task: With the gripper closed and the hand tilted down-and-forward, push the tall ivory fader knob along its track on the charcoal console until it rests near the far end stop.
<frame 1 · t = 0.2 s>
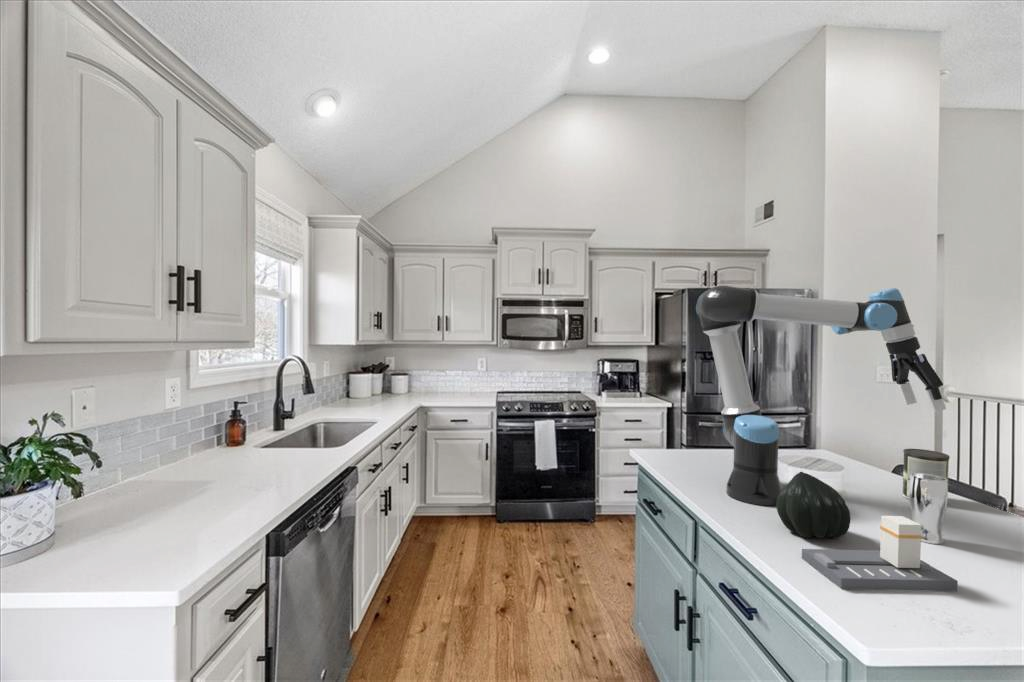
hand: (925, 406, 138), 28 cm above the worktop, tool tilted 20°, fingers open, 13 cm apart
fader knob: (900, 541, 93), point 7 cm above the worktop, slide at 0.0 cm
squash: (810, 533, 113), on the worktop
console: (874, 573, 94), on the worktop
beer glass: (926, 539, 111), on the worktop
coffee can: (924, 500, 138), on the worktop
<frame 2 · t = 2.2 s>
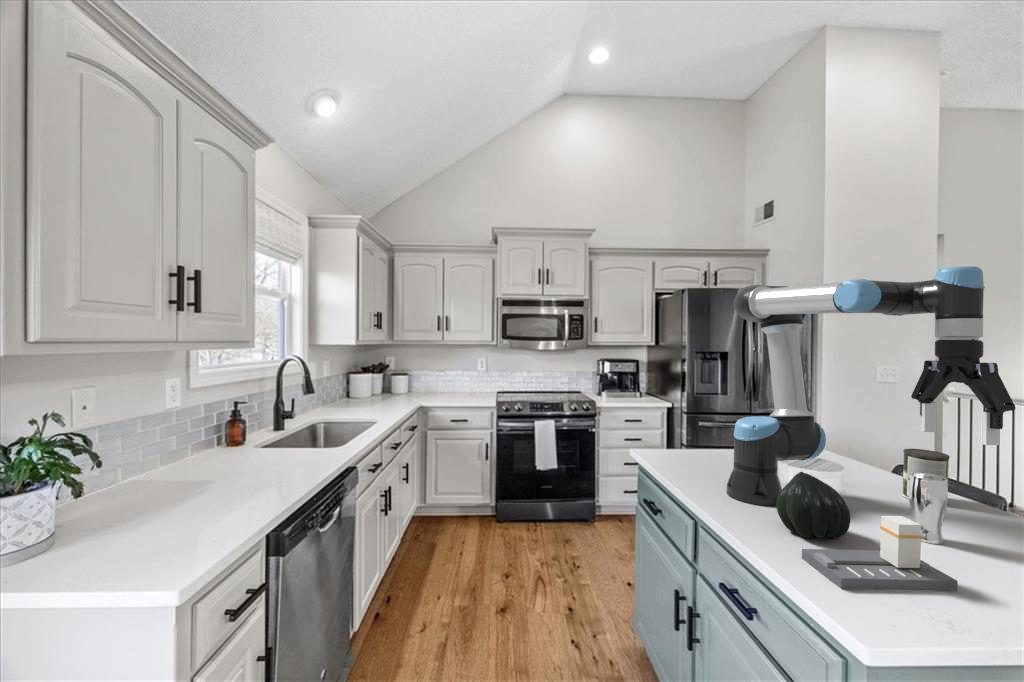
hand: (957, 438, 99), 27 cm above the worktop, tool pointing down, fingers open, 13 cm apart
nothing on the worktop moved.
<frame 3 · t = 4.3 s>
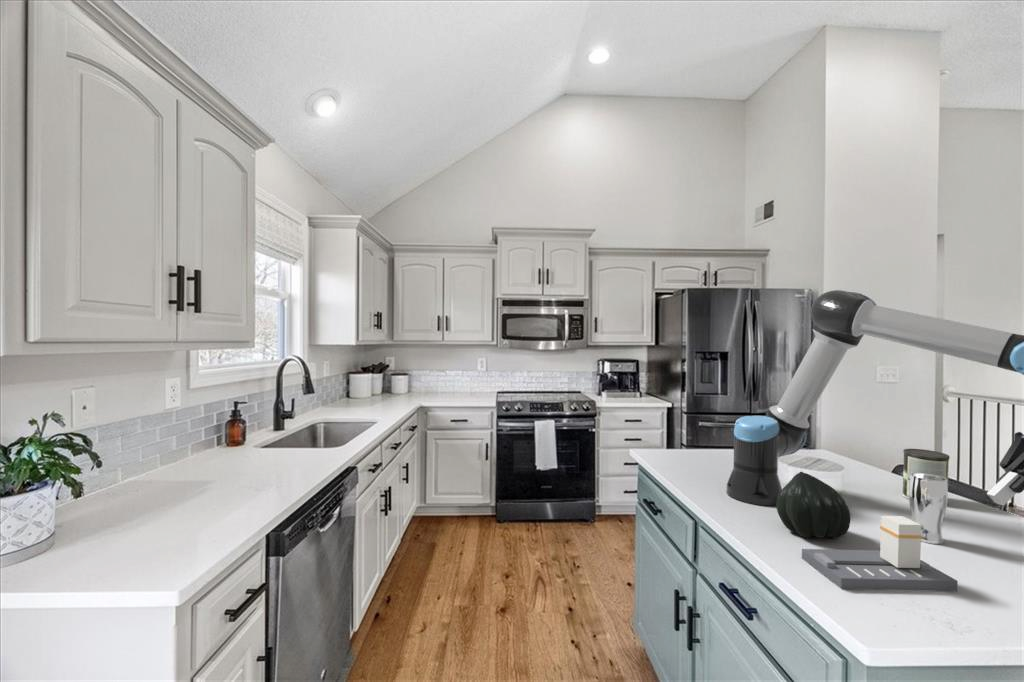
hand: (994, 499, 93), 16 cm above the worktop, tool tilted 45°, fingers closed
nothing on the worktop moved.
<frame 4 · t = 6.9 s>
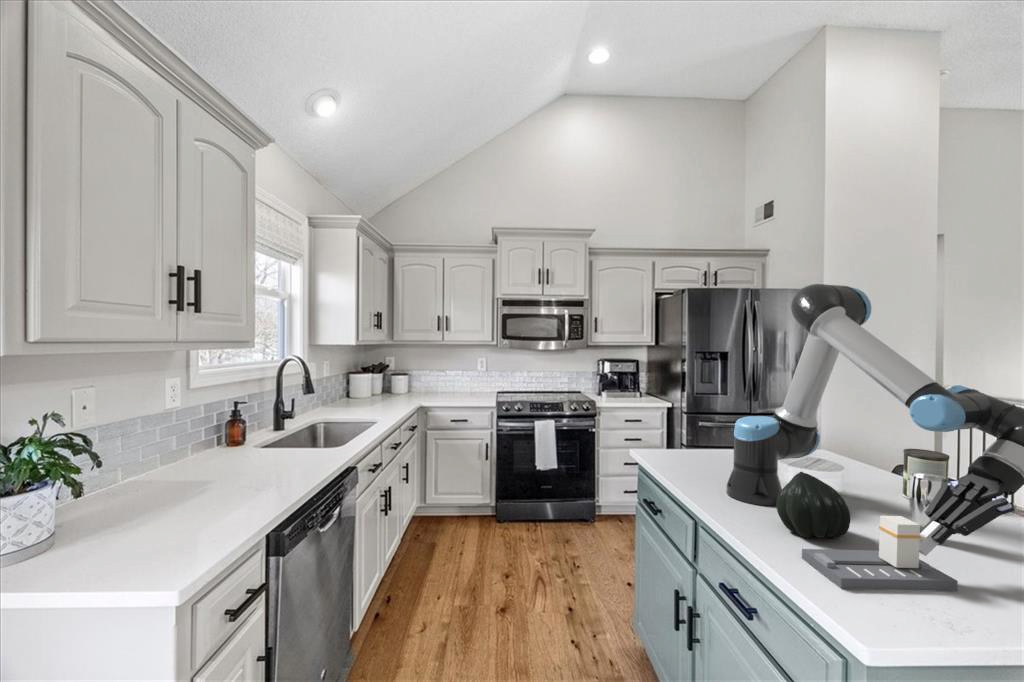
hand: (917, 549, 93), 5 cm above the worktop, tool tilted 45°, fingers closed
fader knob: (898, 541, 93), point 7 cm above the worktop, slide at 0.3 cm, touching gripper
everything else where it was.
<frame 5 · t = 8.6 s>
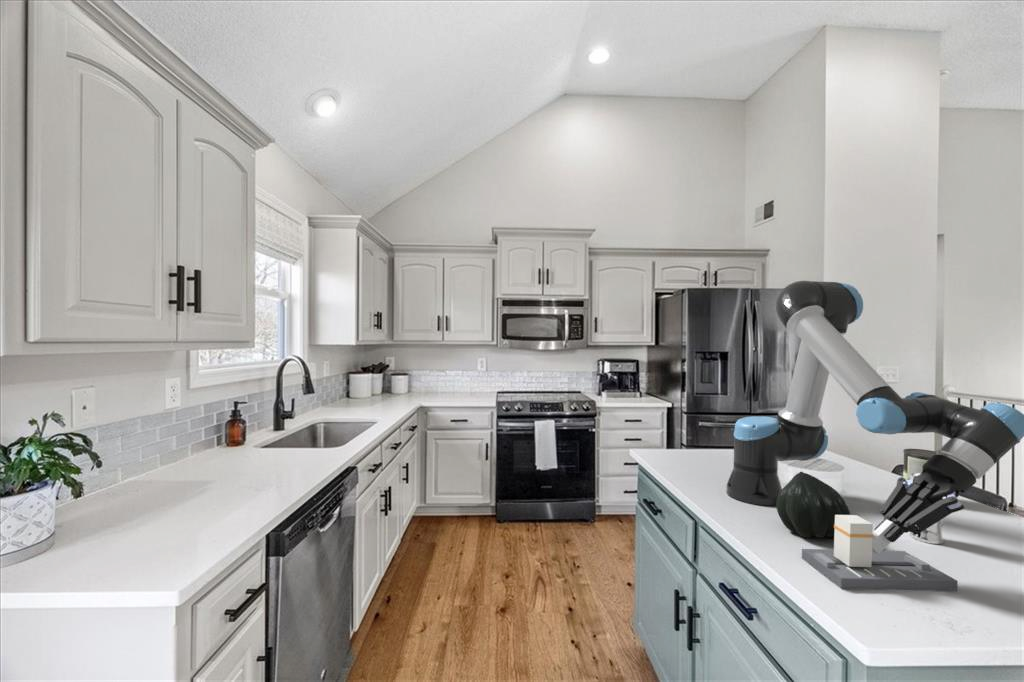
hand: (871, 547, 93), 5 cm above the worktop, tool tilted 45°, fingers closed
fader knob: (852, 540, 93), point 7 cm above the worktop, slide at 9.6 cm, touching gripper
everything else where it was.
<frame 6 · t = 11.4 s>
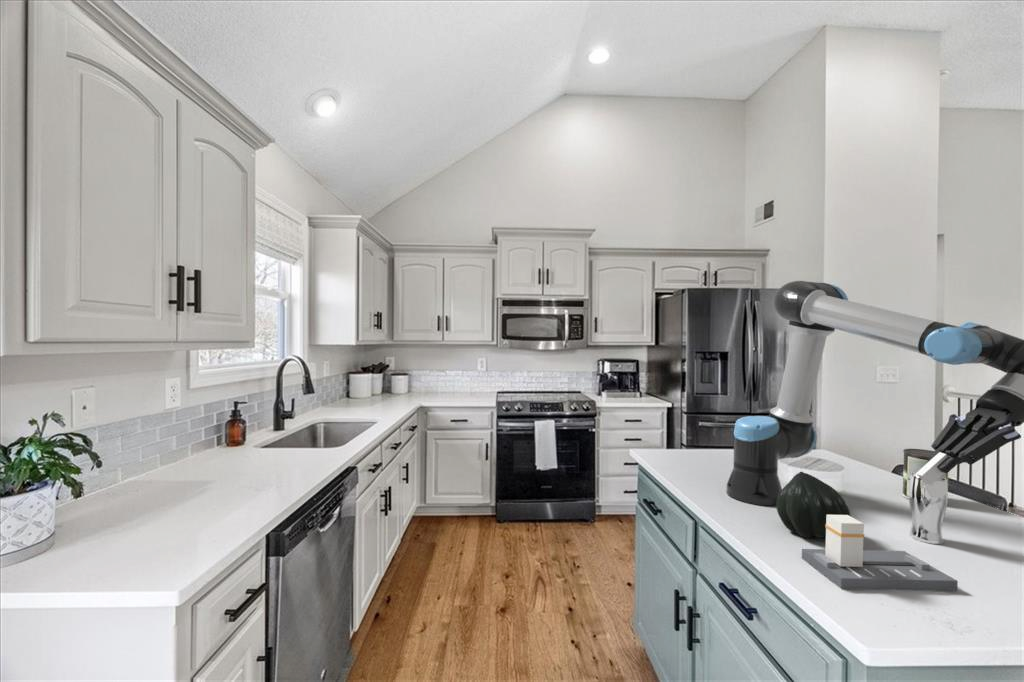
hand: (923, 479, 94), 19 cm above the worktop, tool tilted 45°, fingers closed
fader knob: (844, 540, 93), point 7 cm above the worktop, slide at 11.3 cm
everything else where it was.
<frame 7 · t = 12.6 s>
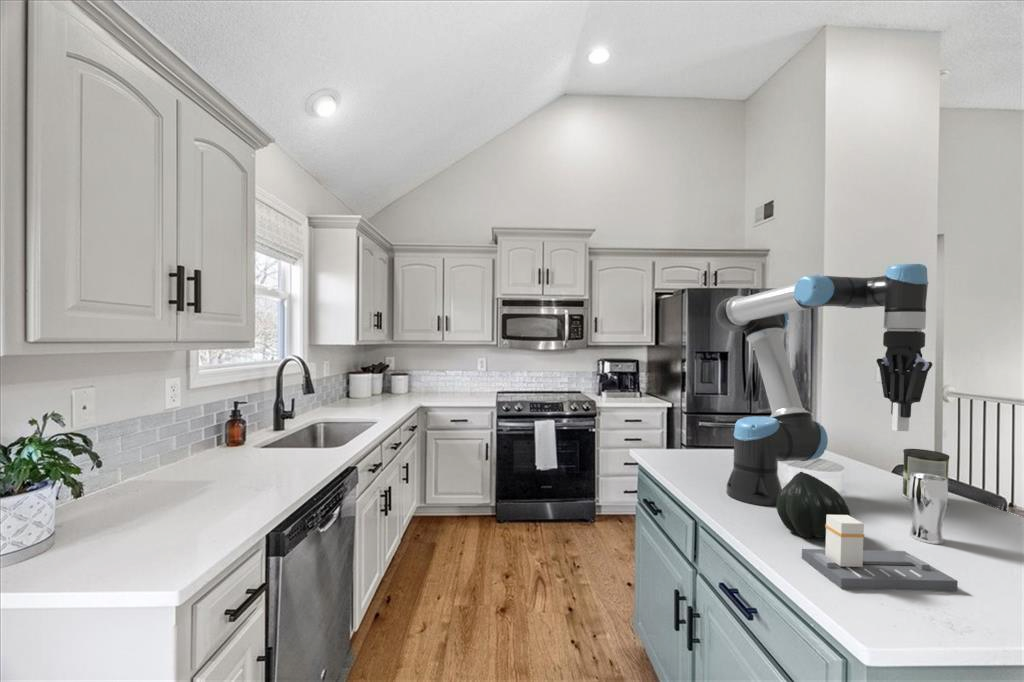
hand: (900, 430, 109), 26 cm above the worktop, tool pointing down, fingers closed
nothing on the worktop moved.
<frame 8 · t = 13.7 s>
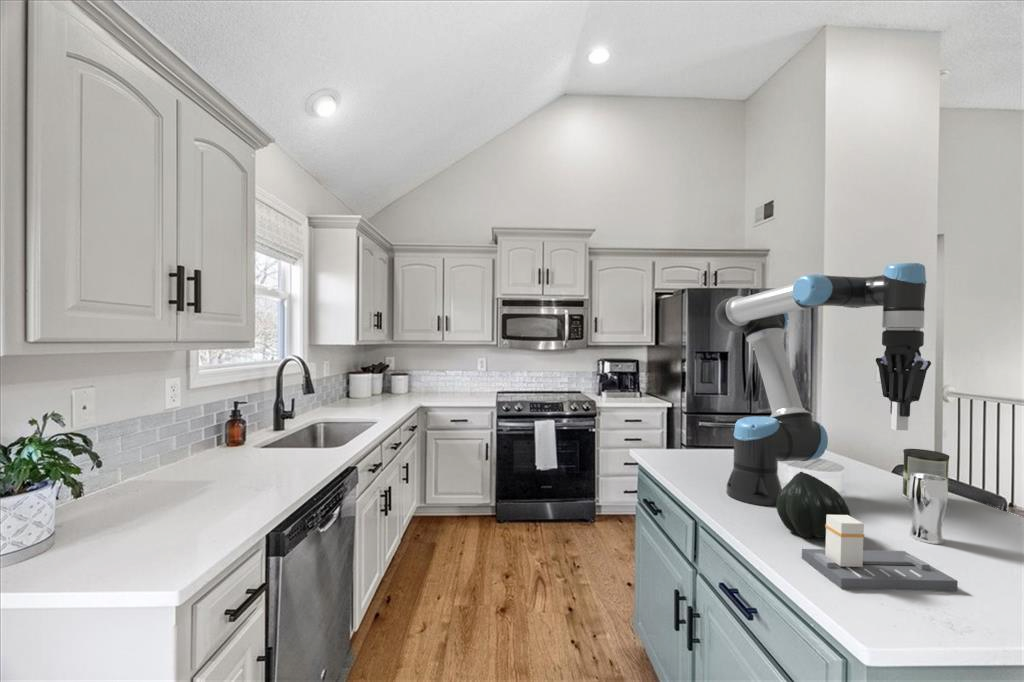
hand: (899, 429, 109), 26 cm above the worktop, tool pointing down, fingers closed
nothing on the worktop moved.
at the end: fader knob slide at 11.3 cm; fader knob touching nothing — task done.
